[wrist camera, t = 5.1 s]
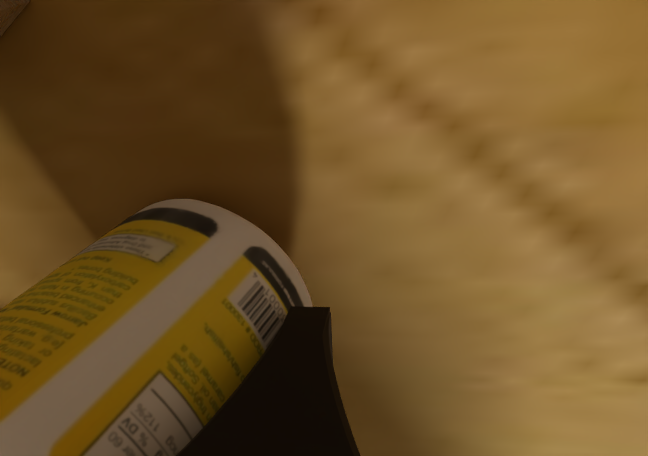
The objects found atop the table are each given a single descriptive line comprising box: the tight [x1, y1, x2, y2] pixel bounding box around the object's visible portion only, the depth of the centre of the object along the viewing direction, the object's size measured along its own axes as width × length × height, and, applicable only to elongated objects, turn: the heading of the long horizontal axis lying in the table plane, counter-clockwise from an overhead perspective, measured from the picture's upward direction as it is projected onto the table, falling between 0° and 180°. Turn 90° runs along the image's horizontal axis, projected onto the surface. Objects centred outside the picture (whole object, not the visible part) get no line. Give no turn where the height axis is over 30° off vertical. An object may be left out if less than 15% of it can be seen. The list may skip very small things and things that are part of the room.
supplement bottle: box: [0, 199, 313, 456], centre depth 10 cm, size 5×5×8 cm
